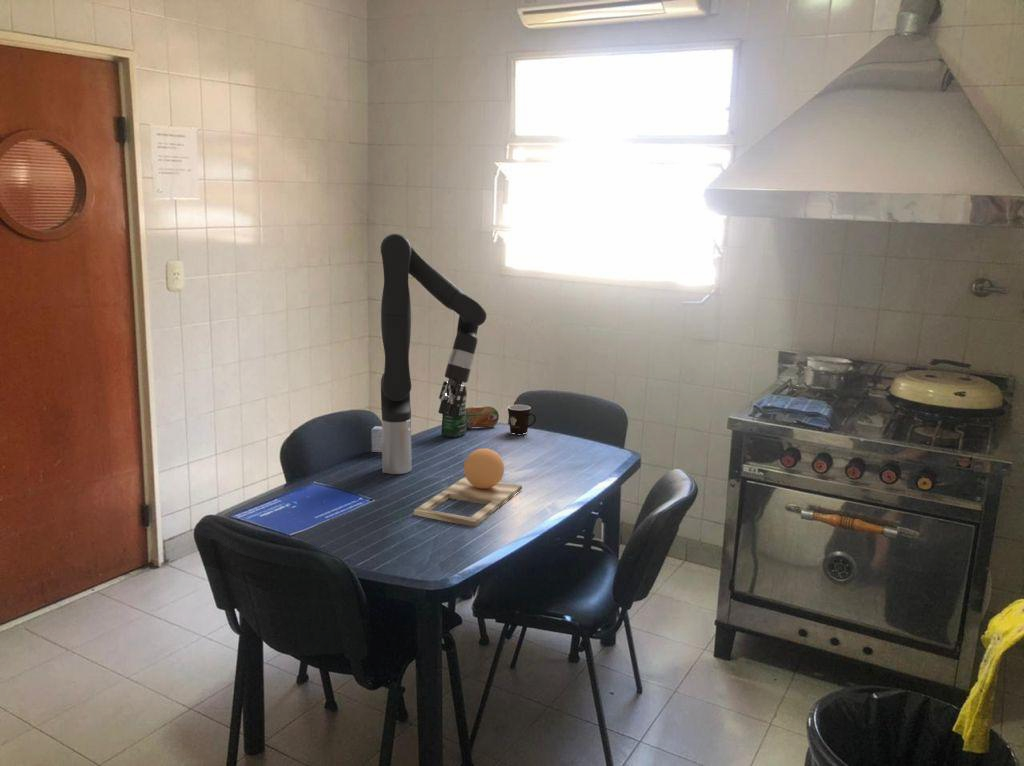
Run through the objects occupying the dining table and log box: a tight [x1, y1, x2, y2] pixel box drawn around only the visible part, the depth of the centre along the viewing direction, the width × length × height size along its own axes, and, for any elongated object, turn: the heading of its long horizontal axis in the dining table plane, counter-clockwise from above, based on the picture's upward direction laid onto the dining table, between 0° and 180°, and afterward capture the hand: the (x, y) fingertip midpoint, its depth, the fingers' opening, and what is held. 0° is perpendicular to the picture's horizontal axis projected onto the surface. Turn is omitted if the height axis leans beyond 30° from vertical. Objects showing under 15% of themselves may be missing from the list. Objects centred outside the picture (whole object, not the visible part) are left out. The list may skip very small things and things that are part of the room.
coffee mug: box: [507, 404, 537, 434], centre depth 304 cm, size 12×9×10 cm
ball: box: [463, 448, 505, 489], centre depth 241 cm, size 12×12×12 cm
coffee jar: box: [441, 388, 468, 438], centre depth 300 cm, size 10×8×19 cm
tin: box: [466, 405, 500, 429], centre depth 312 cm, size 15×3×8 cm, turn 105°
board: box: [413, 476, 523, 527], centre depth 234 cm, size 32×19×2 cm, turn 156°
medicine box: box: [371, 425, 382, 453], centre depth 279 cm, size 8×4×9 cm, turn 84°
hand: (446, 415), depth 253 cm, fingers open, 8 cm apart
